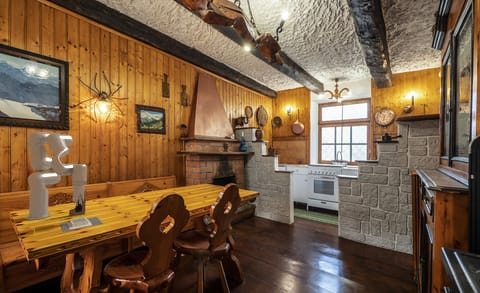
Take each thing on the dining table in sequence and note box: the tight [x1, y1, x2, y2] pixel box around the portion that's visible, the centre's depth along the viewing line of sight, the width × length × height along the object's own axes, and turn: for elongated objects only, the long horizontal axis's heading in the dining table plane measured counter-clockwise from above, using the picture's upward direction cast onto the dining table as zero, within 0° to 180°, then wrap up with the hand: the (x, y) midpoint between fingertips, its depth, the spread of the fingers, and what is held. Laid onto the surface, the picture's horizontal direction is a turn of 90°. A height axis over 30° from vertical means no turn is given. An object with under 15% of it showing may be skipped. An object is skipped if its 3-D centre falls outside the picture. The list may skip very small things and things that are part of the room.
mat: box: [59, 216, 104, 233], centre depth 134 cm, size 20×20×1 cm
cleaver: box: [68, 189, 87, 218], centre depth 152 cm, size 9×4×18 cm, turn 132°
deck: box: [69, 217, 89, 227], centre depth 134 cm, size 2×8×10 cm
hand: (78, 211), depth 137 cm, fingers closed
